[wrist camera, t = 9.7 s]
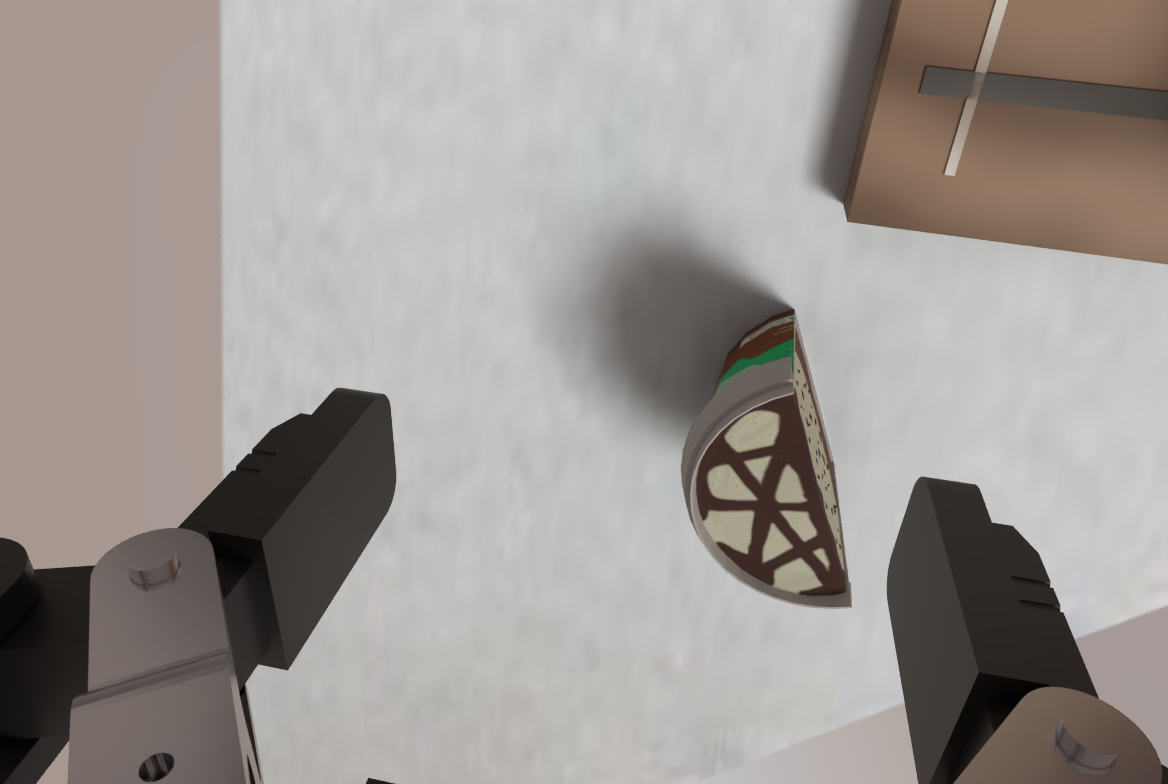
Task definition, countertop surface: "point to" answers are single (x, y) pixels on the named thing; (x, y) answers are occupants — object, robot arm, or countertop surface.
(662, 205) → the countertop surface
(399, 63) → the countertop surface
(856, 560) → the countertop surface
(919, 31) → the fader console
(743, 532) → the food container
